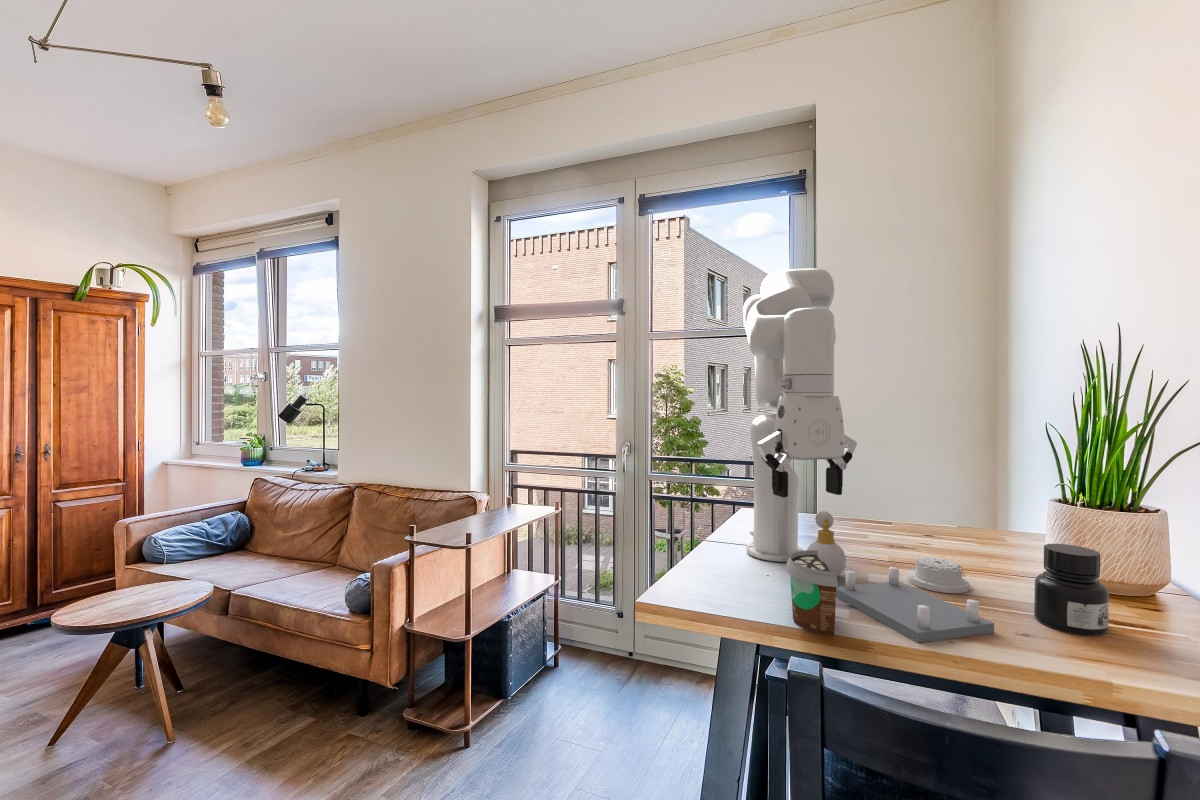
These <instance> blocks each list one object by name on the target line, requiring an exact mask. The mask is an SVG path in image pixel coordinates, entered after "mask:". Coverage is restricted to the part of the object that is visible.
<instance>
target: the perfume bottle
mask: <svg viewBox="0 0 1200 800" xmlns="http://www.w3.org/2000/svg"><path fill="white" fill-rule="evenodd" d="M814 519H815V524H816V525H817V526H818V527H819V528H820V529H818V531H817V539H816V540H815V541H813V542H812V543H811V544H810V545H809V546H808V547H807V549H806V550H818V558H819V559H820V560H821V561H822V562H824V563H825V564H826V565H827V567H828V569H829V570H830V572H837V577H838V576H840V575H841V574H842V573H844V570H845V569H846V567H847V566H846V565H847V556H846V554H845V551H844V550H843V548H842V547H841V546H840V545H839V544H838V543H836V542H835V536H834V534H835V532H834V530H830V528H832V526H833V525H834V522H835V521H834V520H835V519H834V517H833V515H832V514H831V513H830V512H828V511H825V510H823V511H819V512H818V513H817V514H816V515H815V518H814Z"/></svg>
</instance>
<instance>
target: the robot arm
mask: <svg viewBox="0 0 1200 800" xmlns="http://www.w3.org/2000/svg"><path fill="white" fill-rule="evenodd" d="M834 294H835V284H834V280H833V276H832V275H831V274H830V272H829V271H827V270H826V269H823V268H797V269H796V268H794V269H793V268H791V269H790V268H789V269H788V268H787V269H780V270H774V271H773V272H770V273H769V274H767V276H766V277H765V278H764V279H763V280H762V282H761V286H760V293H758V294H755V295H752V296H750V297H748V298H747V299H746V301H744V304H743V310H742V311H743V312H742V314H743V315H742V317H743V324H744V330H745V333H746V337H747V343H748V348H749V350H750V353H751V354H752V355H753V357H754V358H753V359H754V380H755V381H754V382H755V396H756V397H755V398H756V401H757V404H758V405H759V407H760V408H762V409H764V410H768V411H769V410H770V411H776V413H767V414H761V415H760V416H757V417H755V418H754V420H753V421H752V422H751V424H750V431H749V432H750V441H751V449H752V456H753V484H754V485H753V488H754V489H753V529H751V530H750V531H749V535H751V536H752V537H753V538H752V542H750V543H748V544H747V545H746V552H747V554H748V555H749V556H752V557H754V558H757V559H759V560H764V561H768V562H775V563H776V562H777V563H778V562H779V563H787V561H788V559H789V558H790V555H791V554H792V553H794V552H798V551H804V550H805V549H804V548H802V547H800V546H799V476H798V473H797V471H796V470H795V468H794V467H793V466H792V465H791V464H790V463H791V462H792V460H796V461H797V460H798V461H806V460H807V461H809V460H812V461H814V460H815V461H816V460H824V461H825V462H826V463H827V465H829V467H826V469H825V491H826V492H827V493H828V494H832V495H836V496H841V495H843V483H844V482H843V481H844V479H843V477H844V475H843V474H844V471H843V470H846V469H847V468H848V467H847V465H848V464H849V462H850V461H851V460H852V459H853V454H854V452H855V451H856V447H857V445H858V442H857V441H856V440H855V439H853V438H851V437H849V436H848V435H846V434H845V428H844V418H843V417H844V415H843V409H842V405H841V402H840V397H839V395H834V394H835V393H834V391H835V345H836V327H835V316H834V313H833V312H832V311H831V310H830V308H831V305H832V302H833V299H834V296H835V295H834Z"/></svg>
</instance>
